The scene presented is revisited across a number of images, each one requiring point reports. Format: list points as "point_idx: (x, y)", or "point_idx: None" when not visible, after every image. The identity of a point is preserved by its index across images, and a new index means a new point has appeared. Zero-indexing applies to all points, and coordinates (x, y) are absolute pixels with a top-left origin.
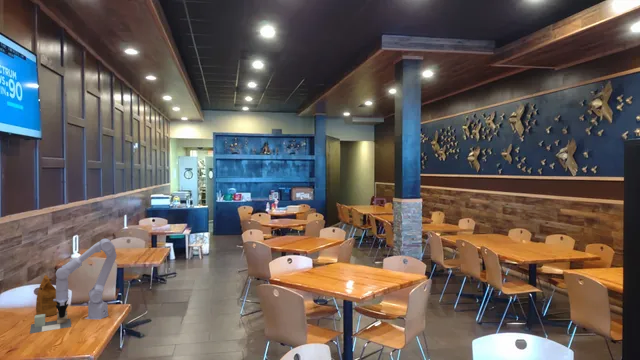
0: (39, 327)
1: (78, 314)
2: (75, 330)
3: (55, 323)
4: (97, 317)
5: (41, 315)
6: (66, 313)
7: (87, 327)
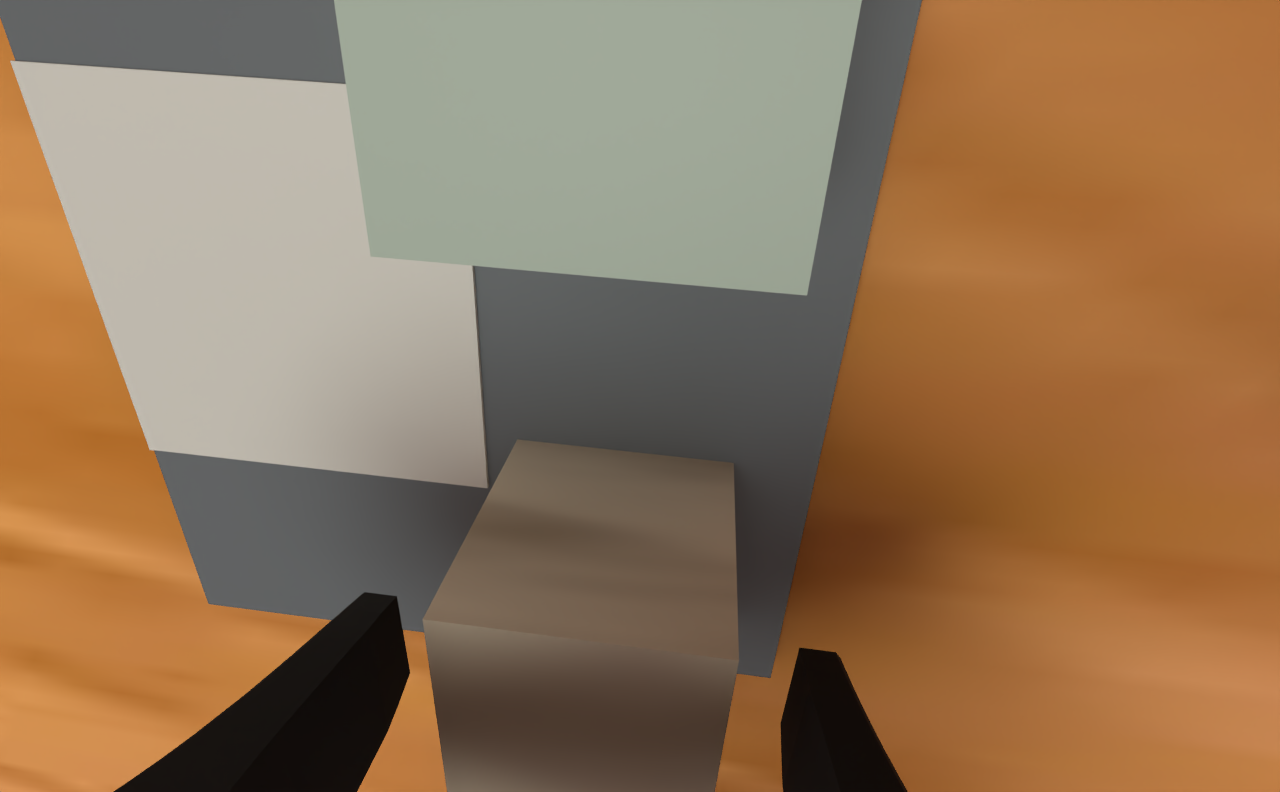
0: None
1: (994, 788)
2: (78, 607)
3: (569, 414)
4: None
5: (617, 106)
6: (453, 783)
7: (180, 733)
